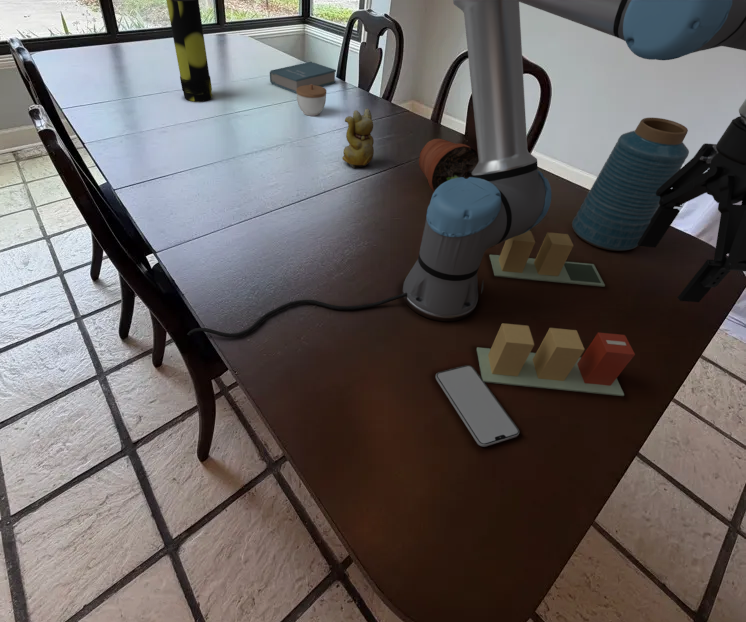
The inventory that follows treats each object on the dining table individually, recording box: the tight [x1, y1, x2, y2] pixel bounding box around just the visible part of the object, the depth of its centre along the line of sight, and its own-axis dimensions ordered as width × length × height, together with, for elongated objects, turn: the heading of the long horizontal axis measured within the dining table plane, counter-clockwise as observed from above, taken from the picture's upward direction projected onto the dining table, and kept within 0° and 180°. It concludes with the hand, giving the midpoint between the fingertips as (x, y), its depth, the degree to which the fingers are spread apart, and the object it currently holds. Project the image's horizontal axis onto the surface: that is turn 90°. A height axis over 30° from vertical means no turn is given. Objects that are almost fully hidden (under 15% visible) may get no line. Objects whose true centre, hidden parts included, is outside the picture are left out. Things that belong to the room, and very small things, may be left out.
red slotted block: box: [577, 332, 636, 386], centre depth 74 cm, size 4×4×8 cm
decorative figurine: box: [342, 108, 375, 169], centre depth 128 cm, size 10×8×15 cm
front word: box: [476, 322, 625, 397], centre depth 75 cm, size 24×8×8 cm, turn 85°
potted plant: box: [418, 137, 479, 193], centre depth 113 cm, size 16×15×35 cm
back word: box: [489, 230, 606, 288], centre depth 96 cm, size 24×8×8 cm, turn 85°
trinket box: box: [296, 84, 327, 117], centre depth 158 cm, size 11×11×9 cm
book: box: [269, 61, 337, 95], centre depth 183 cm, size 23×16×5 cm
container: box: [166, 0, 213, 103], centre depth 156 cm, size 11×11×30 cm
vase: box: [571, 117, 690, 252], centre depth 102 cm, size 16×16×27 cm
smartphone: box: [435, 364, 520, 448], centre depth 71 cm, size 7×1×15 cm
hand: (665, 271), depth 67 cm, fingers open, 13 cm apart
